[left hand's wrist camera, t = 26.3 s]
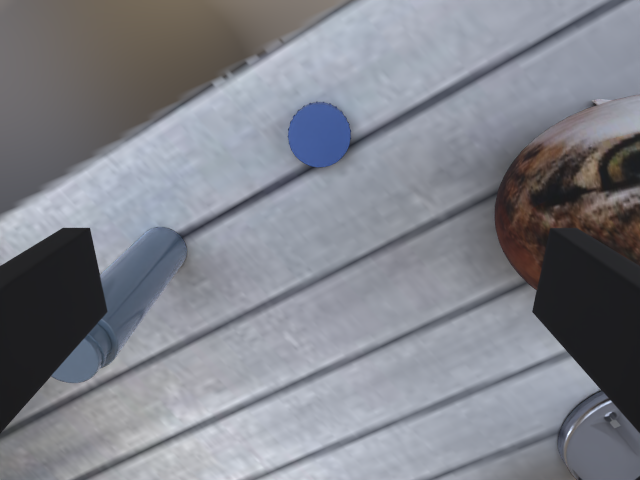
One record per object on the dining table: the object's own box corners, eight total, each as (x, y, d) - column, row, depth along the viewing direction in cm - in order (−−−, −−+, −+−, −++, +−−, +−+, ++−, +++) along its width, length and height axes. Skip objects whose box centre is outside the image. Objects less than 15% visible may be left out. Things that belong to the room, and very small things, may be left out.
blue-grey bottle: (195, 244, 42) (118, 352, 26) (172, 278, 44) (84, 400, 27) (154, 217, 41) (47, 312, 25) (131, 252, 43) (15, 364, 26)
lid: (280, 112, 38) (278, 114, 36) (340, 93, 37) (341, 94, 35) (300, 171, 40) (299, 175, 38) (356, 153, 39) (358, 157, 37)
